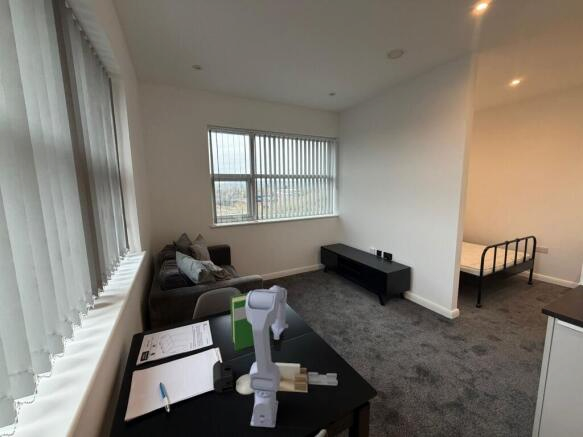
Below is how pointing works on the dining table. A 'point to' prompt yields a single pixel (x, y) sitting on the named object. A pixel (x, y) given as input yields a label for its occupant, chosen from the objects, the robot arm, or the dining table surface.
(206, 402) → the dining table surface
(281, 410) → the dining table surface
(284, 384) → the dish rack
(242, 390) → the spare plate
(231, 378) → the end cap
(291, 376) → the white curved panel
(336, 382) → the plate stand
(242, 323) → the hardback book
